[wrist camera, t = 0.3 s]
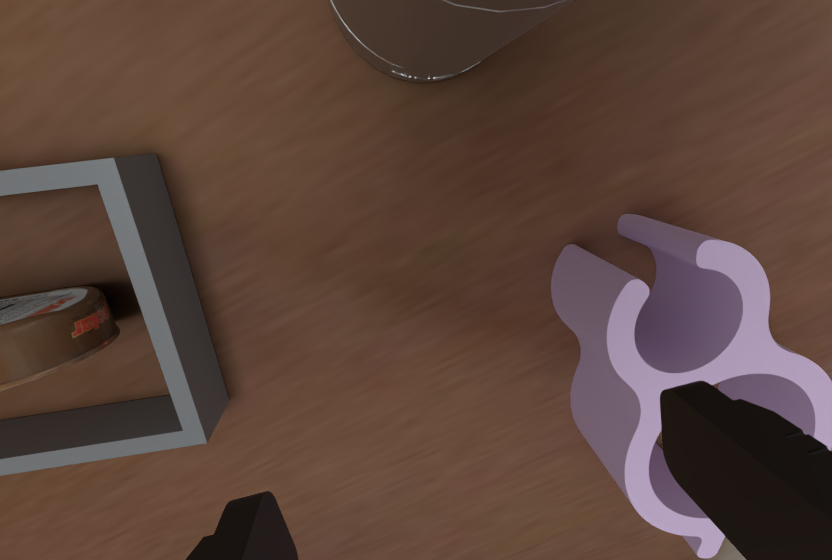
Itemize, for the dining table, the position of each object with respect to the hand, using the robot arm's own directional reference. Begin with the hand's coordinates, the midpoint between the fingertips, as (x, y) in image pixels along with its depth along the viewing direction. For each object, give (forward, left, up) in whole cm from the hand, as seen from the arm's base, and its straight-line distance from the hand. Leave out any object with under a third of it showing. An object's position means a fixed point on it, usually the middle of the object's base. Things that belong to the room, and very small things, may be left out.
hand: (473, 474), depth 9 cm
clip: (+10, +15, -18) cm, 26 cm away
